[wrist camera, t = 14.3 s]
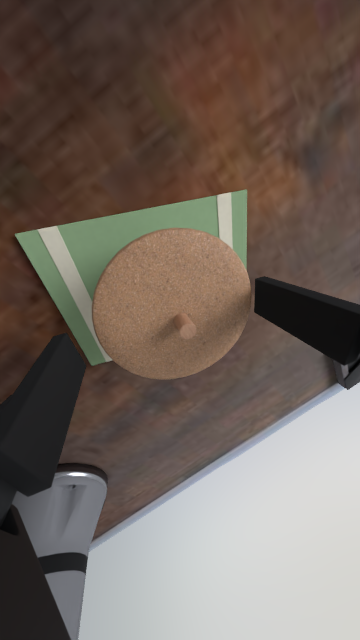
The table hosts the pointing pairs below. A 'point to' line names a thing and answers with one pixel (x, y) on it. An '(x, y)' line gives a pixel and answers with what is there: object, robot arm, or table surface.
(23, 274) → the table surface
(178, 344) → the trinket box
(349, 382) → the picture frame
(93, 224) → the towel
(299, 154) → the table surface
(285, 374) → the table surface
